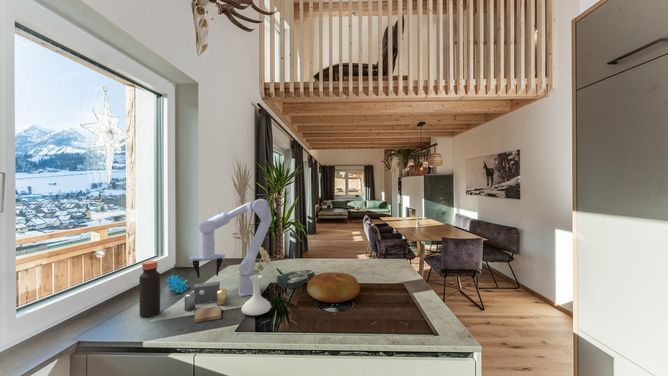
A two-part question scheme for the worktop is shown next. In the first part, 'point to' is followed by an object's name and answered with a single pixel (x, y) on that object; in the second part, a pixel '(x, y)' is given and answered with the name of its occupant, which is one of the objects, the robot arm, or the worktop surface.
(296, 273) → the communication device
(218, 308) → the walnut pad
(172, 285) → the blue bumpy lump
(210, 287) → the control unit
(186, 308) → the steel fitting
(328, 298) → the bread
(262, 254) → the flower in vase
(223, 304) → the brass fitting
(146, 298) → the bottle
